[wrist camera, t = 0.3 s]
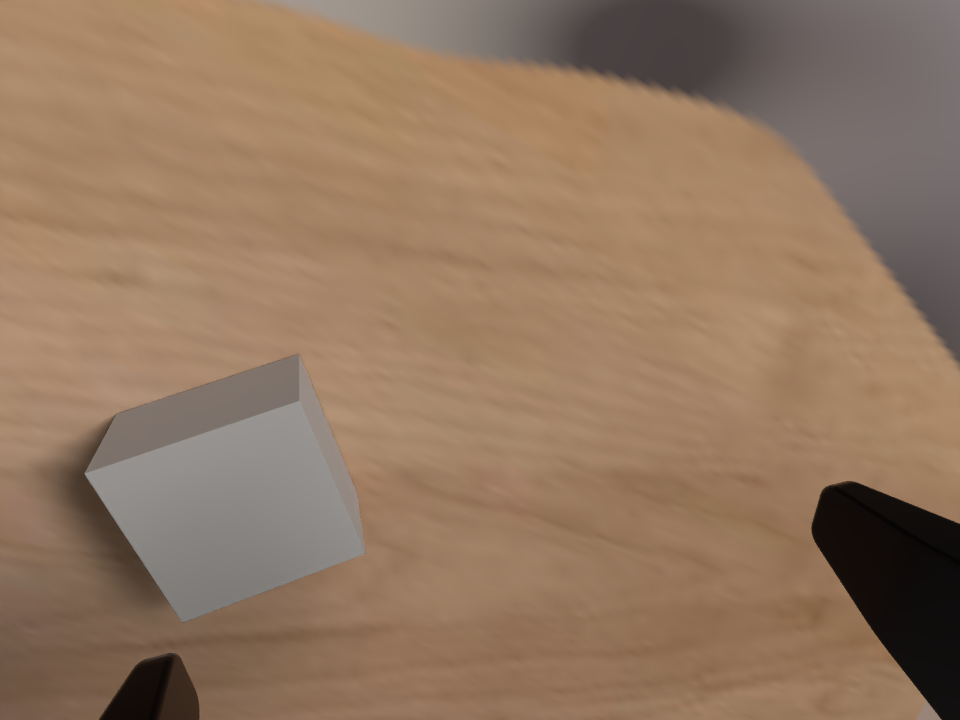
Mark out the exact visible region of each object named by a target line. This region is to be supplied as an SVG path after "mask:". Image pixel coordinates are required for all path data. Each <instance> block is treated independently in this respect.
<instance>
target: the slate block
mask: <svg viewBox="0 0 960 720" xmlns="http://www.w3.org/2000/svg"><path fill="white" fill-rule="evenodd" d="M84 474H85V476H86V477H87V479H88V480H89V482H90V483H91V485H92V486H93V488H94V489H95V491H96V492H97V494H98V495H99V497H100V498H101V500H102V501H103V503H104V504H105V506H106V507H107V509H108V510H109V512H110V513H111V515H112V517H113V518H114V520H115V521H116V523H117V524H118V526H119V527H120V529H121V530H122V532H123V533H124V535H125V536H126V538H127V539H128V541H129V542H130V544H131V545H132V547H133V548H134V550H135V551H136V553H137V554H138V556H139V558H140V559H141V561H142V562H143V564H144V565H145V567H146V568H147V570H148V571H149V573H150V574H151V576H152V577H153V579H154V580H155V582H156V583H157V585H158V586H159V588H160V589H161V591H162V592H163V594H164V595H165V597H166V598H167V600H168V602H169V603H170V605H171V606H172V608H173V609H174V611H175V612H176V614H177V615H178V617H179V618H180V620H181V621H182V623H183V622H186V621H189V620H191V619H194V618H196V617H199V616H202V615H204V614H207V613H210V612H212V611H215V610H218V609H220V608H223V607H226V606H228V605H231V604H234V603H236V602H239V601H241V600H244V599H247V598H249V597H252V596H255V595H257V594H260V593H263V592H265V591H268V590H271V589H273V588H276V587H279V586H281V585H284V584H287V583H289V582H292V581H294V580H297V579H300V578H302V577H305V576H308V575H310V574H313V573H316V572H318V571H321V570H324V569H326V568H329V567H332V566H334V565H337V564H339V563H342V562H345V561H347V560H350V559H353V558H355V557H358V556H361V555H363V554H366V552H365V545H364V538H363V532H362V525H361V518H360V512H359V505H358V498H357V492H356V489H355V487H354V485H353V482H352V480H351V478H350V475H349V473H348V470H347V468H346V466H345V463H344V461H343V458H342V456H341V454H340V451H339V449H338V446H337V444H336V442H335V439H334V437H333V434H332V432H331V430H330V427H329V425H328V422H327V420H326V418H325V415H324V413H323V410H322V408H321V406H320V403H319V401H318V398H317V396H316V394H315V391H314V389H313V387H312V384H311V382H310V379H309V377H308V375H307V372H306V370H305V367H304V365H303V363H302V360H301V358H300V355H299V354H297V355H294V356H291V357H288V358H285V359H282V360H279V361H276V362H273V363H270V364H267V365H264V366H261V367H258V368H255V369H252V370H249V371H246V372H243V373H239V374H236V375H233V376H230V377H227V378H224V379H221V380H218V381H215V382H212V383H209V384H206V385H203V386H200V387H197V388H194V389H191V390H188V391H185V392H182V393H179V394H176V395H173V396H170V397H167V398H163V399H160V400H157V401H154V402H151V403H148V404H145V405H142V406H139V407H136V408H133V409H130V410H127V411H124V412H121V413H118V414H116V416H115V418H114V420H113V422H112V423H111V425H110V427H109V429H108V431H107V433H106V435H105V436H104V438H103V440H102V442H101V444H100V446H99V447H98V449H97V451H96V453H95V455H94V457H93V459H92V460H91V462H90V464H89V466H88V468H87V470H86V472H85V473H84Z"/></svg>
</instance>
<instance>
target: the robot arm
mask: <svg viewBox="0 0 960 720" xmlns="http://www.w3.org/2000/svg"><path fill="white" fill-rule="evenodd" d="M811 529H812V535H813V538H814V541H815V543H816V544H817V546H818V548H819V549H820V551H821V552H822V554H823V555H824V557H825V558H826V560H827V561H828V563H829V565H830V566H831V568H832V569H833V571H834V572H835V574H836V575H837V577H838V578H839V580H840V581H841V583H842V584H843V586H844V588H845V589H846V591H847V592H848V594H849V595H850V597H851V598H852V600H853V601H854V603H855V604H856V606H857V608H858V609H859V611H860V612H861V614H862V615H863V617H864V618H865V620H866V621H867V623H868V624H869V626H870V627H871V629H872V630H873V631H874V633H875V634H876V636H877V637H878V638H879V640H880V641H881V642H882V644H883V645H884V646H885V648H886V649H887V650H888V652H889V653H890V654H891V656H892V657H893V658H894V659H895V661H896V662H897V663H898V665H899V666H900V667H901V668H902V670H903V671H904V672H905V673H906V675H907V676H908V677H909V679H910V680H911V681H912V682H913V684H914V685H915V686H916V687H917V689H918V690H919V691H920V693H921V694H922V695H923V696H924V698H925V699H926V700H927V702H928V703H929V704H930V705H931V707H932V708H933V709H934V710H935V712H936V713H937V714H938V716H939V717H940V718H941V719H942V720H960V524H959V523H956V522H954V521H951V520H949V519H947V518H944V517H942V516H939V515H937V514H934V513H932V512H929V511H927V510H924V509H922V508H919V507H917V506H914V505H912V504H909V503H907V502H904V501H902V500H899V499H897V498H894V497H892V496H889V495H887V494H884V493H882V492H879V491H877V490H874V489H872V488H869V487H867V486H864V485H862V484H859V483H857V482H853V481H846V482H841V483H837V484H833V485H829V486H827V487H825V488H824V489H823V490H822V492H821V494H820V498H819V501H818V505H817V508H816V512H815V515H814V519H813V522H812V527H811ZM99 720H199V702H198V696H197V693H196V690H195V688H194V686H193V684H192V681H191V679H190V677H189V675H188V673H187V671H186V668H185V666H184V664H183V662H182V660H181V658H180V657H179V655H177V654H176V653H168V654H164V655H160V656H156V657H152V658H148V659H145V660H142V661H141V662H139V663H138V664H137V665H136V666H135V667H134V668H133V670H132V671H131V673H130V674H129V676H128V677H127V679H126V680H125V682H124V683H123V685H122V686H121V687H120V689H119V690H118V692H117V693H116V695H115V696H114V698H113V699H112V701H111V702H110V704H109V705H108V707H107V708H106V709H105V711H104V712H103V714H102V715H101V717H100V718H99Z"/></svg>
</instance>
